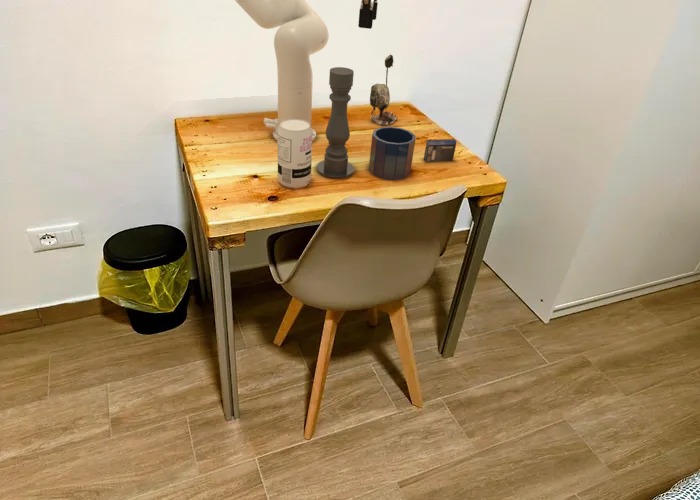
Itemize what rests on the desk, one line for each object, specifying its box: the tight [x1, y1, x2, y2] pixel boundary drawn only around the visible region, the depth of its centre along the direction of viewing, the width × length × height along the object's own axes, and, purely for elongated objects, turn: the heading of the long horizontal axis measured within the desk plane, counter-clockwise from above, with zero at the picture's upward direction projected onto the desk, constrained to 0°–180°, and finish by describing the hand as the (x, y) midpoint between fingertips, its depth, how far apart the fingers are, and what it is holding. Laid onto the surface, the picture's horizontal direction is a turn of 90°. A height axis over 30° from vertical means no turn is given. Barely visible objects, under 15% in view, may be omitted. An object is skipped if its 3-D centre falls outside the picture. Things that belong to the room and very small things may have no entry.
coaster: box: [315, 160, 356, 180], centre depth 138 cm, size 10×10×1 cm
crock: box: [368, 126, 417, 181], centre depth 137 cm, size 11×11×10 cm
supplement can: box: [277, 119, 313, 189], centre depth 127 cm, size 8×8×15 cm
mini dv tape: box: [423, 138, 457, 163], centre depth 146 cm, size 8×2×6 cm, turn 103°
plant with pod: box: [369, 54, 399, 126], centre depth 162 cm, size 8×11×20 cm
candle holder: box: [323, 66, 355, 173], centre depth 130 cm, size 6×6×25 cm
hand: (367, 23), depth 128 cm, fingers open, 9 cm apart
